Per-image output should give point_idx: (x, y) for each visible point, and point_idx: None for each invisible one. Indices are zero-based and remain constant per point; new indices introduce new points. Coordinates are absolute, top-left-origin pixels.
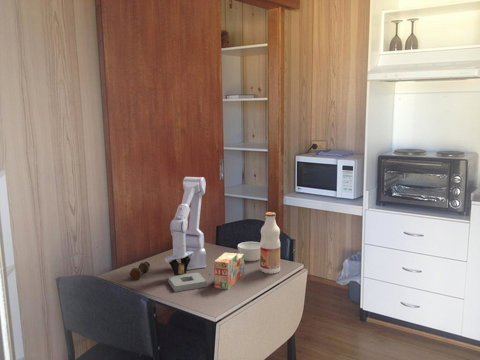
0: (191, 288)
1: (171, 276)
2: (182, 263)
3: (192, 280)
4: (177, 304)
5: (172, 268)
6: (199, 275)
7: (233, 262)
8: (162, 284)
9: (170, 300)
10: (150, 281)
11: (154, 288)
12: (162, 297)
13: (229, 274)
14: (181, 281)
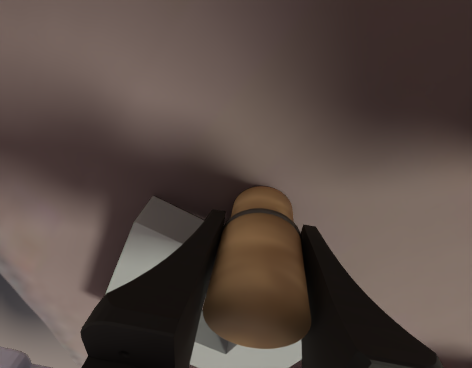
0: None
1: (157, 237)
2: (300, 326)
3: (214, 349)
4: (66, 349)
5: (182, 250)
6: None
7: None
8: (97, 194)
9: (55, 323)
10: (36, 72)
11: (27, 199)
12: (34, 291)
13: None
14: None
